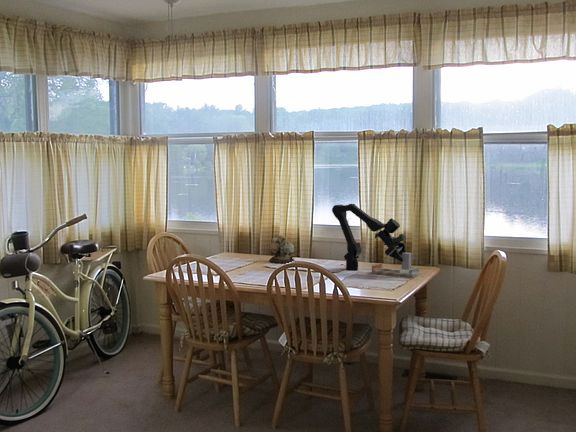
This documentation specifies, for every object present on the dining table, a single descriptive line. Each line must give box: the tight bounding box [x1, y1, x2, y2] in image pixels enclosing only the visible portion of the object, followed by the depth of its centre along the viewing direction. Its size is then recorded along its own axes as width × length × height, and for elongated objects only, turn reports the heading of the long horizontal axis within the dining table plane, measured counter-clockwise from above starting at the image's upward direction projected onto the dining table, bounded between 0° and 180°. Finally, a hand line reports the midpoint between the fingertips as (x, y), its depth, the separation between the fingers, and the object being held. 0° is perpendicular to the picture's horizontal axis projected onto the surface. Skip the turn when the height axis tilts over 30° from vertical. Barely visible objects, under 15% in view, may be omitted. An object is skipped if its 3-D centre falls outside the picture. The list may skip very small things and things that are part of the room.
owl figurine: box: [267, 234, 296, 265], centre depth 369 cm, size 18×12×17 cm, turn 73°
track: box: [371, 262, 420, 279], centre depth 330 cm, size 24×10×4 cm, turn 58°
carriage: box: [399, 251, 413, 274], centre depth 326 cm, size 6×6×11 cm
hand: (405, 260), depth 327 cm, fingers open, 9 cm apart
